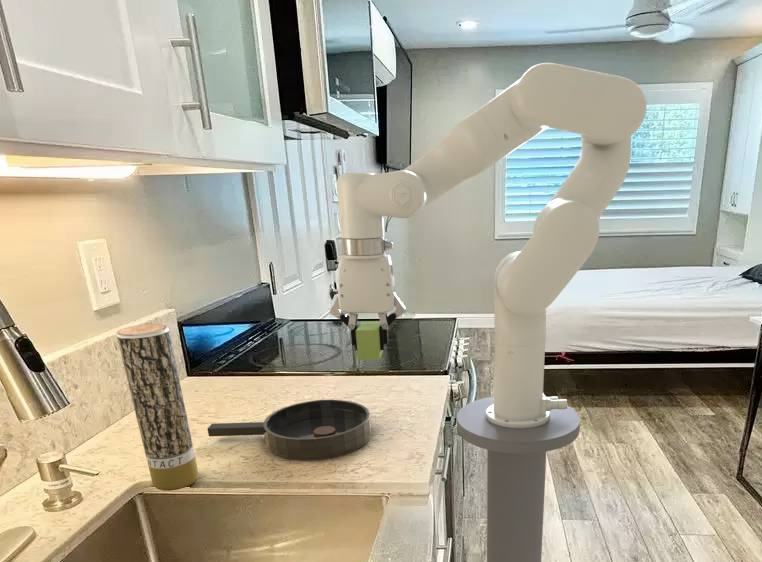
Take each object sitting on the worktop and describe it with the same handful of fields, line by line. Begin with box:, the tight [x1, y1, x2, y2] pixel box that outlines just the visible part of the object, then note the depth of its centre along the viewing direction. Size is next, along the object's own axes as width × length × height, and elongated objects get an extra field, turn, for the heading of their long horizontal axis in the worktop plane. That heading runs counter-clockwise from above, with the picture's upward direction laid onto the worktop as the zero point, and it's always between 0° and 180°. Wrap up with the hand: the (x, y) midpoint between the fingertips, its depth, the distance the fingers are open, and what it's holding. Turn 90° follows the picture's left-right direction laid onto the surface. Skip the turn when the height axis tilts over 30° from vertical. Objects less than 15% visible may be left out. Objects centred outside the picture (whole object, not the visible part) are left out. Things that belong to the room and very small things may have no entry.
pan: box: [263, 399, 373, 461], centre depth 106 cm, size 19×19×4 cm
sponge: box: [356, 321, 384, 361], centre depth 107 cm, size 4×7×6 cm, turn 0°
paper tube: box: [116, 323, 199, 492], centre depth 87 cm, size 7×7×25 cm
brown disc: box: [313, 426, 336, 438], centre depth 106 cm, size 4×4×1 cm
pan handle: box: [207, 421, 265, 437], centre depth 106 cm, size 10×2×2 cm, turn 91°
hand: (370, 347), depth 107 cm, fingers closed on sponge, 4 cm apart
